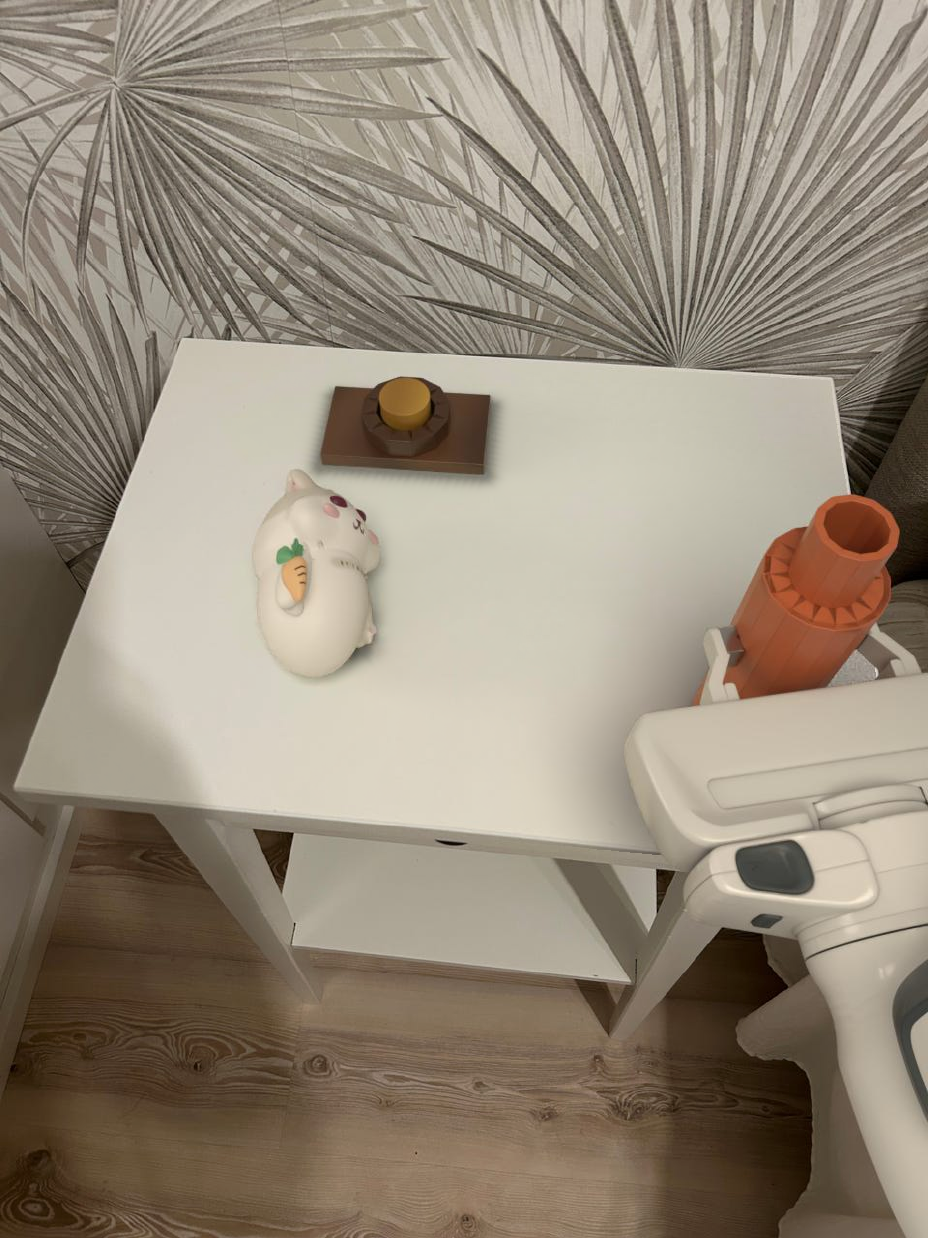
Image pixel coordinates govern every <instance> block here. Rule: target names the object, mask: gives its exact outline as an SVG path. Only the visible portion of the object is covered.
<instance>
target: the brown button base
mask: <svg viewBox="0 0 928 1238" xmlns="http://www.w3.org/2000/svg"><path fill="white" fill-rule="evenodd" d="M398 378H413V379H416V380H419V381H421V382H422V383H424V384H425V385H426V386H427V388H428V389H429V392H430V400H431V415H430V418H429V419H428V421H427V422H426V423H425V424H424V425H423V426H421V427H418V428H416V429H413V430H409V431H406V430H396V429H393V428H391V427H389V426H388V425H387V424H386V423H385V422H384V421H383V419H382V417H381V412H380V404H379V393H380V391H381V389H382V388H383V387H384V386H385V385H386V384H387V383H388V382H390V381H392V380H395V379H398ZM491 400H492V396H491V395H490V394H482V393H481V394H480V393H463V392H444V390H443V388H441V386H440V385H437V384H435V383H434V382H431V381H429V380H427V379H426V378H424V377H418V376H397V377H393V378H391V379H388V380H385V381H382V382H380V383H377V385H375V386H374V387H361V386H359V387H358V386H340V385H335V386H334V389H333V394H332V398H331V403H330V408H329V412H328V416H327V421H326V426H325V431H324V435H323V440H322V443H321V449H320V454H319V456H320V460H321V464H322V465H323V466H325V465H326V466H341V467H342V466H343V467H357V468H373V469H377V468H378V469H389V470H407V471H423V472H439V473H454V474H455V473H456V474H470V475H471V474H472V475H484V474H485V465H486V457H487V456H486V455H487V444H488V436H489V424H490V415H491Z"/></svg>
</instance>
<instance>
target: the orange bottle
mask: <svg viewBox="0 0 928 1238" xmlns="http://www.w3.org/2000/svg"><path fill="white" fill-rule="evenodd" d="M900 534H901V532H900V528H899V526H898V523H897V521H896V520H895V517H894V516H893V514H892V512H891V511H890V510H888V509H887V508H885V507H884V506H883V505H882V504H880V503H879V502H878V501H876V500H874V499H872V498H869V497H864V496H861V495H858V494H852V493H849V494H842V495H835V496H830V498H828V499H827V500H826V501H824V502H823V503H821V505H819V506H817V508H816V510H815V513H814V514H813V516H812V518H811V520H810V522H809V524H808V525H807V526H800V527H793V528H791V529H790V530H788V531H786V532H784V533H782V534H781V535H779V536H777V537H776V538H774V540H773V541H772V542H771V544H770V545H769V547H768V548H767V550H766V551H765V553H764V554H763V557H762V558H761V560H760V563H759V565H758V567H757V568H756V571H755V572H754V575H753V577H752V579H751V581H750V583H749V585H748V587H747V589H746V591H745V594H744V595H743V597H742V599H741V602H740V603H739V606H738V607H737V610H736V611H735V613H734V616H733V618H732V620H731V622H730V623H729V626H736V628H737V631H738V636H737V637H738V638H739V639H740V640H741V642H742V645H743V647H744V650H745V652H744V654H743V656H742V657H741V658H739V660H740V661H739V663H738V665H737V666H735V667H729V668H727V669H726V673H725V677H724V680H723V685H725V683H734V684H735V686H736V689H737V692H738V695H739V698H740V699H747V698H754V697H761V696H768V695H775V694H782V693H789V692H796V691H802V690H809V689H816V688H823V687H828V686H829V684H830V683H831V681H833V679H835V677H836V675H837V674H838V673H839V671H840V670H841V668H842V667H843V666H844V664H846V662H847V661H848V659H850V657H851V656H852V654H853V653H854V652H855V651H856V650H855V649H856V648H857V646H858V645H859V644H860V642H861V641H862V640H863V639H864V637H865V636H866V635H867V633H868V632H869V631H870V629H871V628H872V627H873V625H874V624H875V623H877V622H878V620H879V619H880V618H881V617H882V615H883V613H884V611H885V610H886V608H887V606H888V605H889V603H890V601H891V598H892V597H891V596H892V595H891V594H892V593H891V591H892V590H891V589H892V587H891V585H892V579H891V576H890V574H889V571H888V570H887V567H886V563H887V562H888V560H889V559H890V558H891V556H892V555H893V553H894V552H895V551H896V549H897V547H898V543H899V538H900ZM709 669H710V666H709V667H708V669H707V671H706V673H705V675H704V677H703V679H702V682H701V683H700V686H699V687H698V689H697V691H696V694H695V696H694V698H693V700H692V701H691V705H690V707H691V706H698V705H700V699H701V696H702V692H703V689H704V685H705V682H706V678H707V675H708V672H709Z"/></svg>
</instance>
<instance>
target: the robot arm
mask: <svg viewBox="0 0 928 1238" xmlns="http://www.w3.org/2000/svg"><path fill="white" fill-rule="evenodd" d="M737 636H738V631H737V628H736V626H730V625H727V626H720V627H713V628H707V629H706V632H705V634H704V636H703V639H702V645H703V650H704V653H705V655H706V660H707V662H708V665H709V667H710V669H709V668H708V669H709V672H708V675H707V678H706V682H705V685H704V689H703V692H702V696H701V699H700V705H698V706H691V705H690V706H686V707H685V706H684V707H679V708H672V709H671V708H670V709H664V710H657V711H656V710H655V711H649V712H645V713H643V714H641V715H640V716H639V717H638V718H637V719H636V721H635V723H634V725H633V726H632V727H631V729H630V732H629V733H628V736H627V738H626V740H625V744H624V749H623V758H624V763H625V768H626V771H627V775H628V779H629V782H630V786H631V788H632V791H633V795H634V797H635V800H636V803H637V805H638V809H639V811H640V814H641V816H642V819H643V822H644V823H645V826H646V829H647V831H648V833H649V835H650V837H651V840H652V842H653V844H654V846H655V847H656V849H657V851H658V852H659V854H660V855H661V856H662V857H663V859H664V860H665V861H666V862H667V863H669V865H671V866H672V867H673V868H675V869H676V870H678V871H681V872H683V873H687V874H688V875H687V878H685V879H686V880H685V881H684V884H683V888H682V898H683V903H684V907H685V910H686V913H687V914H688V916H689V918H690V919H691V920H692V921H694V922H696V923H699V924H702V925H706V926H711V927H719V928H725V929H731V930H737V931H738V930H739V931H744V932H750V933H757V934H762V935H767V936H768V935H769V936H774V937H780V938H785V939H789V940H794V941H798V944H799V947H800V951H801V954H802V957H803V960H804V963H805V966H806V969H807V971H808V973H809V975H810V977H811V979H812V980H813V982H814V983H815V985H816V986H817V988H818V989H819V991H820V992H821V994H822V996H823V998H824V1001H825V1002H826V1005H827V1006H828V1009H829V1011H830V1015H831V1018H832V1020H833V1025H834V1031H835V1038H836V1053H837V1054H836V1056H837V1064H838V1068H839V1071H840V1074H841V1078H842V1080H843V1083H844V1086H845V1089H846V1090H845V1091H846V1093H847V1096H848V1099H849V1103H850V1106H851V1109H852V1111H853V1115H854V1117H855V1120H856V1123H857V1125H858V1129H859V1131H860V1134H861V1137H862V1140H863V1142H864V1145H865V1147H866V1151H867V1153H868V1155H869V1159H870V1160H871V1163H872V1166H873V1169H874V1170H875V1173H876V1176H877V1178H878V1180H879V1183H880V1185H881V1187H882V1189H883V1192H884V1194H885V1197H886V1199H887V1201H888V1203H889V1206H890V1208H891V1210H892V1212H893V1214H894V1216H895V1218H896V1221H897V1223H898V1225H899V1227H900V1229H901V1231H902V1232H903V1234H904V1237H905V1238H928V672H922V669H921V667H920V666H919V663H918V661H917V659H916V657H915V655H914V654H912V653H911V652H910V651H909V650H907V649H906V648H905V647H903V646H902V645H901V644H899V643H898V642H897V641H895V640H894V639H893V638H892V637H890V636H889V635H888V634H886V633H885V632H884V631H881V629H880V628H879V625H878V623H877V622H876V623H875V624H874V625H873V627H872V628H871V629H870V631H869V632H868V633H867V635H866V636H865V637H864V639H863V640H862V641H861V642H860V644H859V645H858V646H857V648H856V649H855V650H854V651H857V652H858V653H859V654H860V655H861V656H863V658H864V659H866V660H867V661H868V662H869V663H870V664H871V665H872V666H873V667H874V668H875V669H876V670H878V671H879V673H878V675H876V677H875V679H873V680H866V681H859V682H852V683H846V684H845V683H844V684H839V685H838V684H837V685H832V686H827V687H823V688H816V689H809V690H802V691H796V692H789V693H782V694H775V695H768V696H761V697H754V698H747V699H740V698H739V695H738V692H737V689H736V686H735V684H734V683H725V685H723V680H724V677H725V673H726V669H727V668H729V667H735V666H737V665H738V663H739V661H740V660H739V658H741V657H742V656H743V654H744V652H745V650H744V647H743V645H742V642H741V640H740V639H739V638H738V637H737Z"/></svg>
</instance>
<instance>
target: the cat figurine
mask: <svg viewBox="0 0 928 1238" xmlns="http://www.w3.org/2000/svg"><path fill="white" fill-rule="evenodd" d="M366 522H367V514H366V512H364V510H361V509H358V508H356V507H355V506H354V505H353V504H352V503H351V502H350V501H349V500H348V499H347V498H345V497H344V496H343V495H341V494H339V493H337V492H335V491H334V490H332V489H327V488H323V487H321V486H319V484H317V483H316V482H315V481H314V480H313V479H312V478H311V476H310V475H309V474H308V473H306V472H305V471H304V470H302V469H299V468H294V469H291V470H290V471H289V472H288V474H287V477H286V484H285V492H284V495H283V496H281V497H280V498H279V499H278V500H277V501H276V502H275V503H274V504H273V505H272V506H271V508H270V509H268V512H267V514H265V517H264V518H263V520H262V522H261V524H260V526H259V528H258V530H257V533H256V534H255V538H254V540H253V544H252V550H251V560H252V565H253V566H252V567H253V570H254V572H255V575H256V578H257V581H258V582H259V583H258V588H257V594H256V595H257V597H256V613H257V621H258V625H259V629H260V632H261V636H262V639H263V640H264V642H265V644H266V646H267V648H268V650H269V651H270V652H271V654H272V655H273V657H274V658H275V659H276V661H278V662H279V663H280V664H281V665H282V666H283V667H285V669H287V670H289V671H290V672H292V673H294V674H297V675H299V676H302V677H305V678H322V677H326V676H328V675H330V674H332V673H334V672H336V671H337V670H338V669H340V668H341V667H342V666H343V665H344V664H346V662H348V660H349V659H350V657H351V656H352V655H353V653H354V652H355V650H356V649H357V648H358V649H361V648H363V647H364V646H365V645H369V644H372V643H373V640H374V636H375V635H377V632H378V628H377V627H376V625H375V624H374V619H373V606H372V599H371V598H372V597H371V595H370V590H369V588H368V583H367V578H369V577H368V576H366V575H367V574H368V573H370V572H372V571H373V570H374V569H376V568H377V567H378V565H379V563H380V561H381V556H382V555H381V549H380V547H379V539H378V537H377V535H376V534H375V533H374V532H373V531H372V530H370V529H369V528H368V526H367V524H366Z"/></svg>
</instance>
